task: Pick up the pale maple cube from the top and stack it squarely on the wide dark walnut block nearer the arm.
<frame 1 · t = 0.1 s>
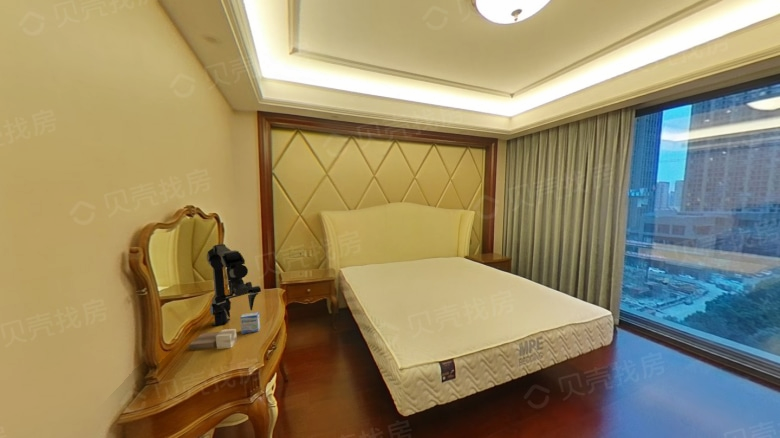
hand: (240, 313, 125), 15 cm above the table, tool pointing down, fingers open, 9 cm apart
walnut block: (208, 343, 130), on the table
maple cube: (227, 344, 128), on the table
medicine box: (251, 331, 140), on the table
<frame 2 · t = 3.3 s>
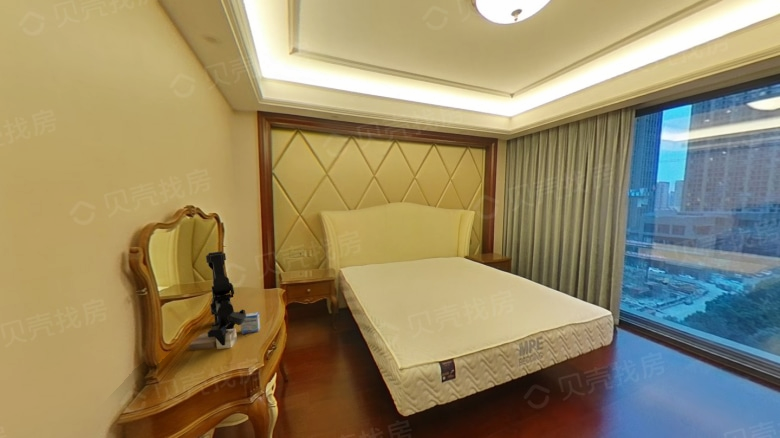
hand: (226, 341, 128), 2 cm above the table, tool pointing down, fingers closed on maple cube, 6 cm apart
maple cube: (227, 344, 128), on the table, touching gripper
everything else where it was.
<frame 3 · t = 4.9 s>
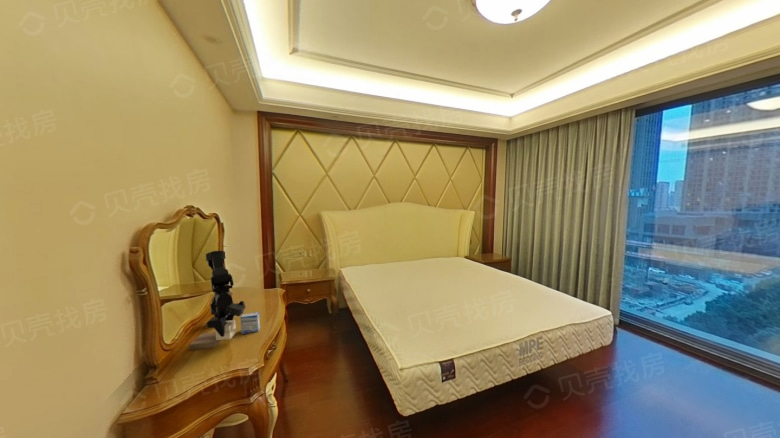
hand: (226, 332, 127), 6 cm above the table, tool pointing down, fingers closed on maple cube, 6 cm apart
maple cube: (226, 336, 127), point 4 cm above the table, touching gripper
everything else where it was.
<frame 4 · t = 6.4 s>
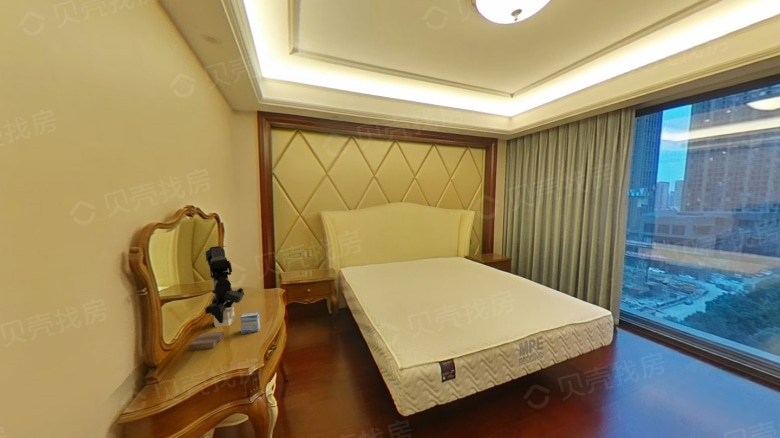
hand: (224, 319, 127), 12 cm above the table, tool pointing down, fingers closed on maple cube, 6 cm apart
maple cube: (225, 323, 127), point 10 cm above the table, touching gripper
everything else where it was.
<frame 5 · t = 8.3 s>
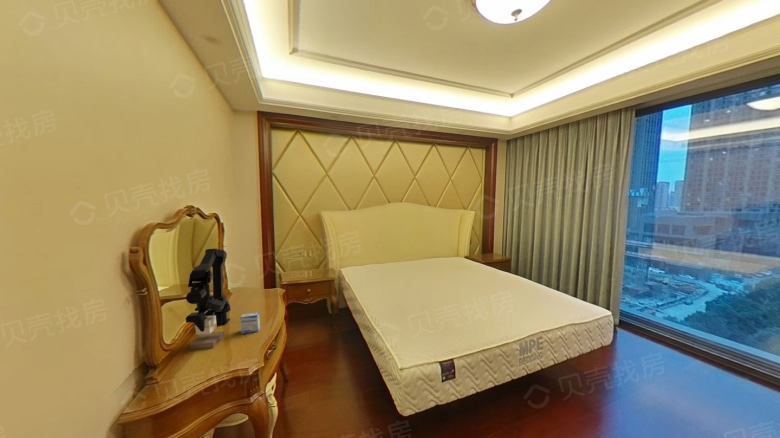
hand: (206, 327, 129), 7 cm above the table, tool pointing down, fingers closed on maple cube, 6 cm apart
maple cube: (206, 331, 129), point 6 cm above the table, touching gripper
everything else where it was.
when the fingers open (6 cm above the table, at t = 9.8 s): maple cube drops 2 cm, point 2 cm above the table.
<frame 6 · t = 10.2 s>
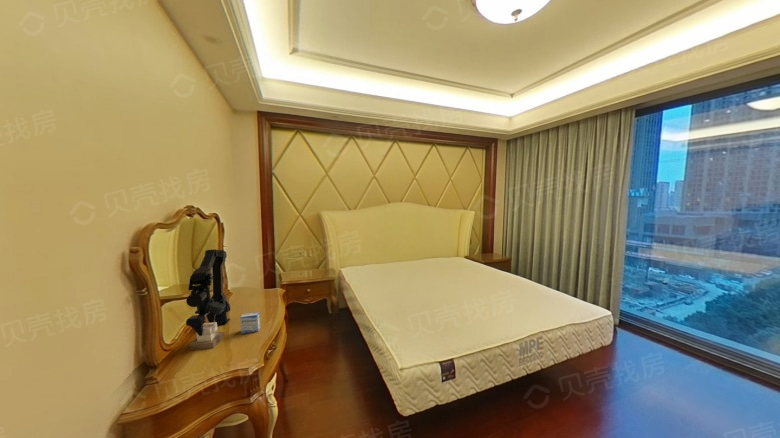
hand: (206, 330, 129), 6 cm above the table, tool pointing down, fingers open, 9 cm apart
maple cube: (207, 337, 130), point 2 cm above the table
everything else where it was.
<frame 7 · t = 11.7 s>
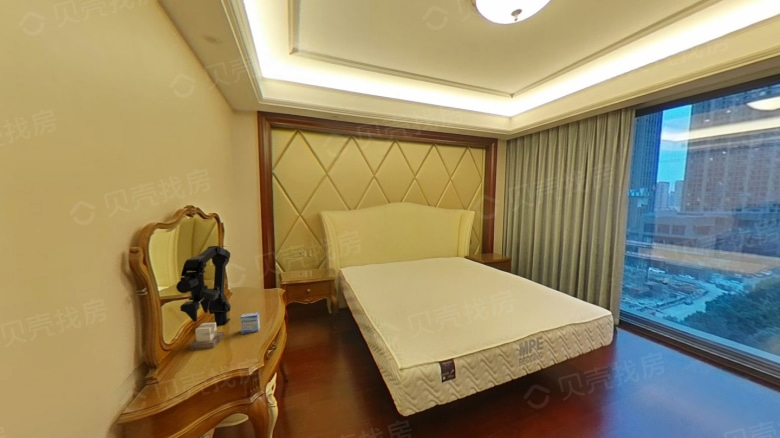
hand: (200, 317, 131), 12 cm above the table, tool pointing down, fingers open, 9 cm apart
nothing on the table moved.
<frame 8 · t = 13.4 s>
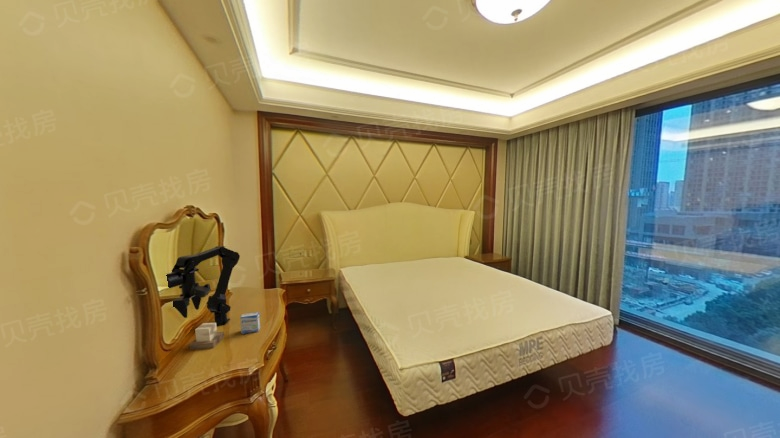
hand: (191, 313, 135), 12 cm above the table, tool pointing down, fingers open, 9 cm apart
nothing on the table moved.
at the end: maple cube inside the target area on the walnut block (0.2 cm from its centre), point 3.0 cm above the walnut block's base; maple cube tilted 0°; the gripper is holding nothing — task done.
